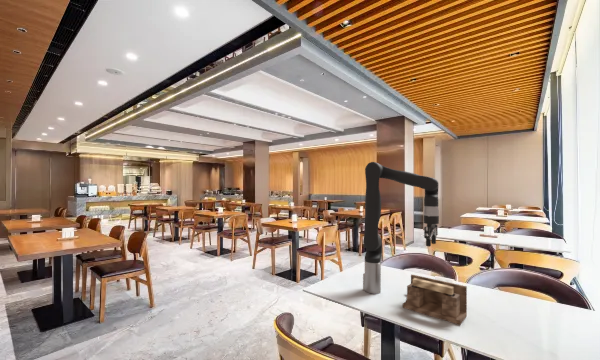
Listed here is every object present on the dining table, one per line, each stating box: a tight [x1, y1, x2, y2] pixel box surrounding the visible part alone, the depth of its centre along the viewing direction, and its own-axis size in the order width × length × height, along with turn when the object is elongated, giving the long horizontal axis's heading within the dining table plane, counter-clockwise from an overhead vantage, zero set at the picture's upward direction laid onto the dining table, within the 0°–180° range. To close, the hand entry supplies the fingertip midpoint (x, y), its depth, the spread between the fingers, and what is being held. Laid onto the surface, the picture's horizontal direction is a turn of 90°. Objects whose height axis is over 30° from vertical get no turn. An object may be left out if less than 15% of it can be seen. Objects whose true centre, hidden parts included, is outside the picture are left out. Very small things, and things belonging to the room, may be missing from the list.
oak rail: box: [413, 278, 454, 297], centre depth 137 cm, size 18×3×8 cm, turn 48°
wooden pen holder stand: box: [402, 274, 468, 326], centre depth 138 cm, size 26×12×14 cm, turn 48°
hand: (431, 244), depth 151 cm, fingers open, 8 cm apart
